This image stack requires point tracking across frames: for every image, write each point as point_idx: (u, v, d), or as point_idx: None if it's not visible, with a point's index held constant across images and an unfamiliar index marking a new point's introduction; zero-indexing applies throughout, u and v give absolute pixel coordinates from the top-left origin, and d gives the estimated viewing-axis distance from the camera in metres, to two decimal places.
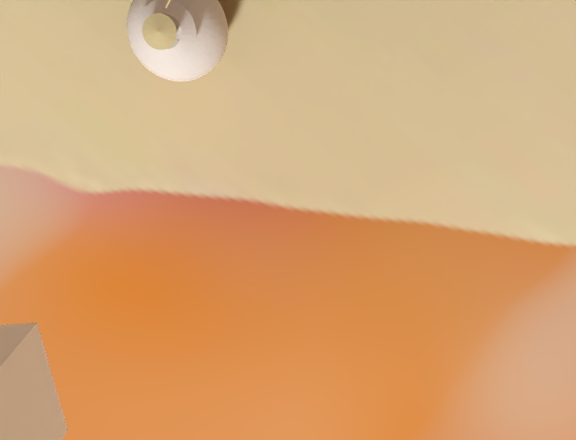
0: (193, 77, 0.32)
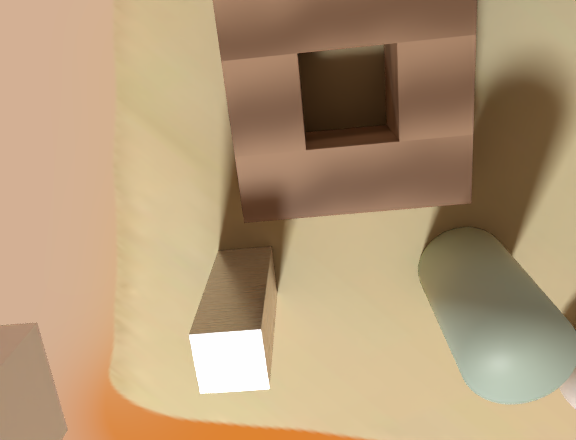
0: None
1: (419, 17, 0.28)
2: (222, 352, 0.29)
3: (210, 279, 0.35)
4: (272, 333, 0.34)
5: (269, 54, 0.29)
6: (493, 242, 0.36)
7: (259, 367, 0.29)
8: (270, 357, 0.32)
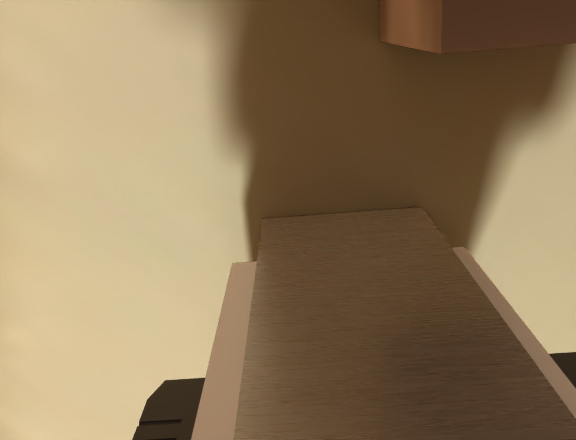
0: None
1: None
2: None
3: (259, 312, 0.09)
4: None
5: None
6: None
7: None
8: None
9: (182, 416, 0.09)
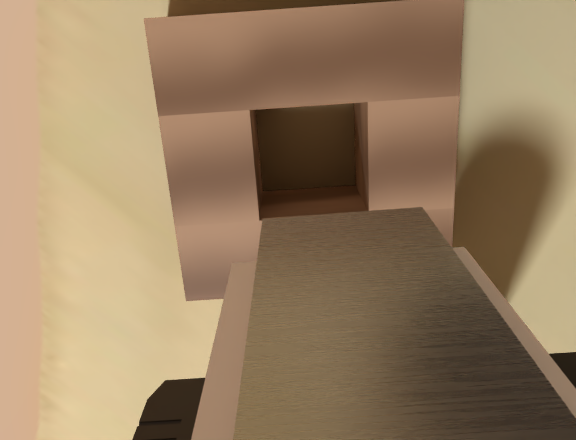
0: None
1: (394, 74, 0.24)
2: None
3: (259, 313, 0.09)
4: None
5: (216, 110, 0.24)
6: None
7: None
8: None
9: (182, 416, 0.09)
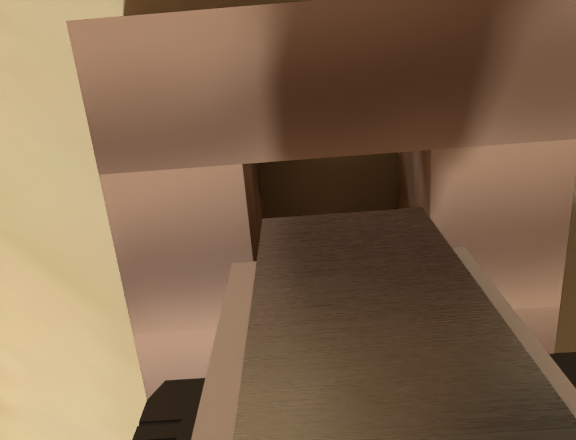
0: None
1: (475, 106, 0.15)
2: None
3: (258, 313, 0.09)
4: None
5: (189, 164, 0.15)
6: None
7: None
8: None
9: (182, 416, 0.09)
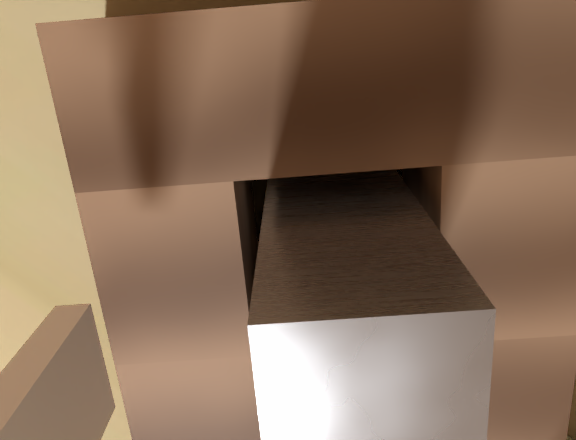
0: None
1: (491, 117, 0.13)
2: (353, 385, 0.09)
3: (270, 199, 0.14)
4: None
5: (175, 182, 0.14)
6: None
7: (465, 432, 0.09)
8: None
9: None
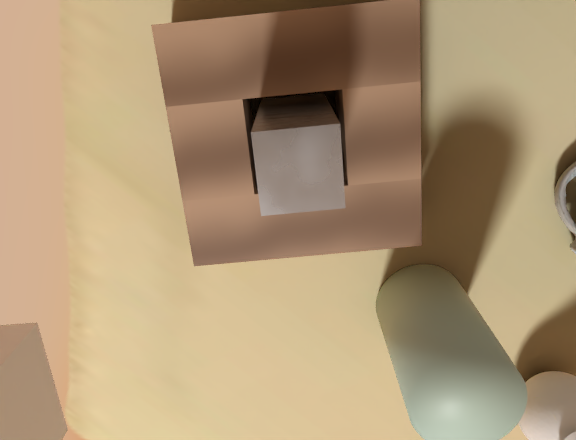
0: None
1: (363, 65, 0.28)
2: (290, 157, 0.24)
3: (260, 109, 0.29)
4: None
5: (214, 100, 0.29)
6: (448, 280, 0.36)
7: (335, 177, 0.24)
8: None
9: None
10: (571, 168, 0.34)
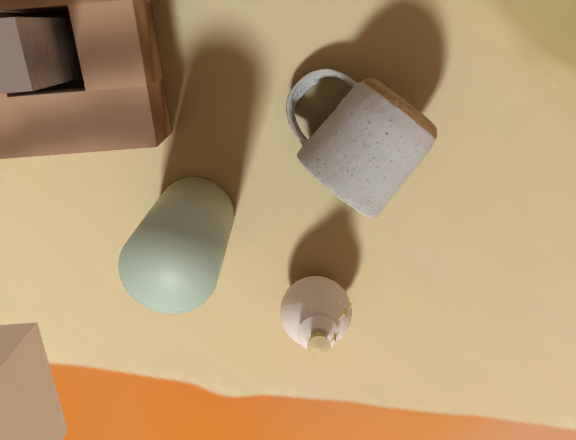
0: None
1: None
2: None
3: None
4: (64, 74, 0.34)
5: None
6: (204, 187, 0.41)
7: (19, 64, 0.30)
8: (47, 78, 0.32)
9: None
10: (295, 84, 0.40)
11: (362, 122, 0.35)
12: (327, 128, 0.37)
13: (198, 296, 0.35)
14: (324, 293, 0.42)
